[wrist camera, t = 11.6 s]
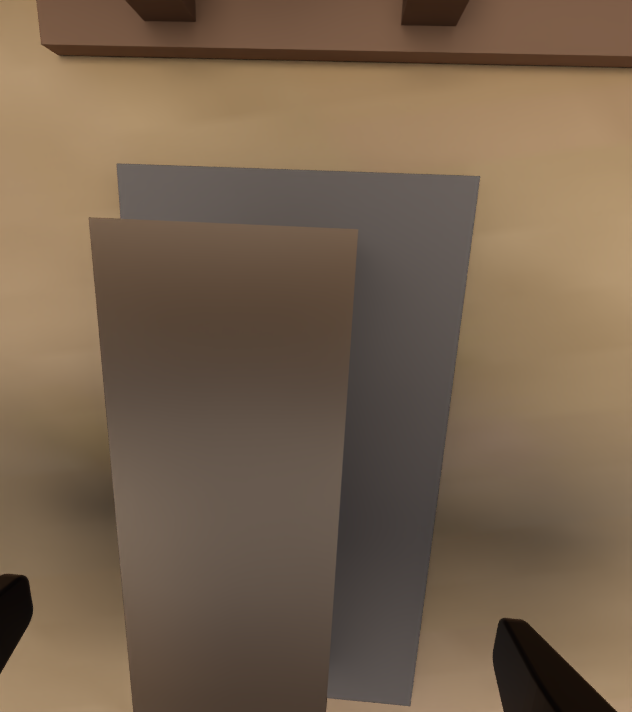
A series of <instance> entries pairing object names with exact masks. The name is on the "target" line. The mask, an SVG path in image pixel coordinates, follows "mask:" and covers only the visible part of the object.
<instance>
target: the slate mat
mask: <svg viewBox="0 0 632 712" xmlns="http://www.w3.org/2000/svg"><path fill="white" fill-rule="evenodd" d="M117 176H118V190H119V203H120V217H121V219H136V220H159V221H182V222H205V223H227V224H250V225H273V226H296V227H318V228H341V229H358V240H357V255H356V270H355V285H354V300H353V315H352V330H351V345H350V360H349V375H348V390H347V405H346V420H345V435H344V450H343V465H342V480H341V495H340V510H339V525H338V540H337V555H336V570H335V585H334V600H333V615H332V630H331V645H330V660H329V675H328V690H327V698H332V699H342V700H352V701H363V702H373V703H383V704H393V705H403V706H410V704H411V697H412V689H413V682H414V674H415V666H416V659H417V651H418V644H419V636H420V629H421V621H422V613H423V606H424V598H425V591H426V583H427V576H428V568H429V560H430V553H431V545H432V538H433V530H434V522H435V515H436V507H437V500H438V492H439V485H440V477H441V469H442V462H443V454H444V447H445V439H446V431H447V424H448V416H449V409H450V401H451V394H452V386H453V378H454V371H455V363H456V356H457V348H458V340H459V333H460V325H461V318H462V310H463V303H464V295H465V287H466V280H467V272H468V265H469V257H470V249H471V242H472V234H473V227H474V219H475V212H476V204H477V196H478V189H479V181H480V176H461V175H432V174H403V173H374V172H346V171H317V170H288V169H259V168H230V167H202V166H173V165H144V164H117Z"/></svg>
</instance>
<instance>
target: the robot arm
mask: <svg viewBox="0 0 632 712" xmlns="http://www.w3.org/2000/svg"><path fill="white" fill-rule="evenodd" d="M32 614H33V604H32V598H31V592H30V585H29V580H28V578H27V577H26V576H24V575H16V574H3V575H1V576H0V674H1V672H2V670H3V668H4V667H5V665H6V663H7V661H8V660H9V658H10V656H11V654H12V653H13V651H14V649H15V648H16V646H17V644H18V642H19V641H20V639H21V637H22V635H23V634H24V632H25V630H26V628H27V627H28V625H29V623H30V621H31V618H32ZM493 666H494V671H495V675H496V680H497V684H498V688H499V693H500V697H501V702H502V706H503V711H504V712H617V711H616V710H615V709H614V708H613V707H612V706H611V705H610V704H609V703H608V702H607V701H606V700H605V699H604V698H603V697H602V696H601V695H600V694H599V693H598V692H597V691H596V690H595V689H594V688H593V687H592V686H591V685H590V684H589V683H588V682H587V681H586V680H585V679H584V678H583V677H582V676H581V675H580V674H579V673H578V672H576V671H575V670H574V669H573V668H572V667H571V666H570V665H569V664H568V663H567V662H566V661H565V660H564V659H563V658H562V657H561V656H560V655H559V654H558V653H557V652H556V651H555V650H554V649H553V648H552V647H551V646H550V645H549V644H548V643H547V642H546V641H545V640H544V639H543V638H542V637H541V636H540V635H539V634H538V633H537V632H536V631H535V630H534V629H533V628H532V627H531V626H530V625H529V624H528V623H527V622H525V621H524V620H521V619H512V618H502V619H500V621H499V623H498V628H497V633H496V638H495V643H494V649H493Z"/></svg>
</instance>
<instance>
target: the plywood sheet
mask: <svg viewBox="0 0 632 712" xmlns="http://www.w3.org/2000/svg"><path fill="white" fill-rule="evenodd" d="M89 227H90V238H91V249H92V260H93V271H94V282H95V293H96V304H97V315H98V326H99V337H100V349H101V360H102V371H103V382H104V393H105V404H106V415H107V426H108V437H109V448H110V459H111V470H112V481H113V492H114V503H115V514H116V525H117V536H118V547H119V559H120V570H121V581H122V592H123V603H124V614H125V625H126V636H127V647H128V658H129V669H130V680H131V691H132V702H133V712H326V705H327V690H328V675H329V660H330V645H331V630H332V615H333V600H334V585H335V570H336V555H337V540H338V525H339V510H340V495H341V480H342V465H343V450H344V435H345V420H346V405H347V390H348V375H349V360H350V345H351V330H352V315H353V300H354V285H355V270H356V255H357V240H358V229H341V228H318V227H296V226H273V225H250V224H227V223H205V222H182V221H159V220H136V219H114V218H91V217H89Z"/></svg>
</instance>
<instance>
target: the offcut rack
mask: <svg viewBox="0 0 632 712" xmlns="http://www.w3.org/2000/svg"><path fill="white" fill-rule="evenodd" d="M36 1H37V10H38V19H39V28H40V38H41V44H42V45H43V46H45V47H46V48H48V49H49V50H51V51H52V52H54V53H56V54H57V55H84V56H131V57H177V58H224V59H271V60H318V61H365V62H412V63H459V64H506V65H553V66H600V67H632V0H36Z"/></svg>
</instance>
